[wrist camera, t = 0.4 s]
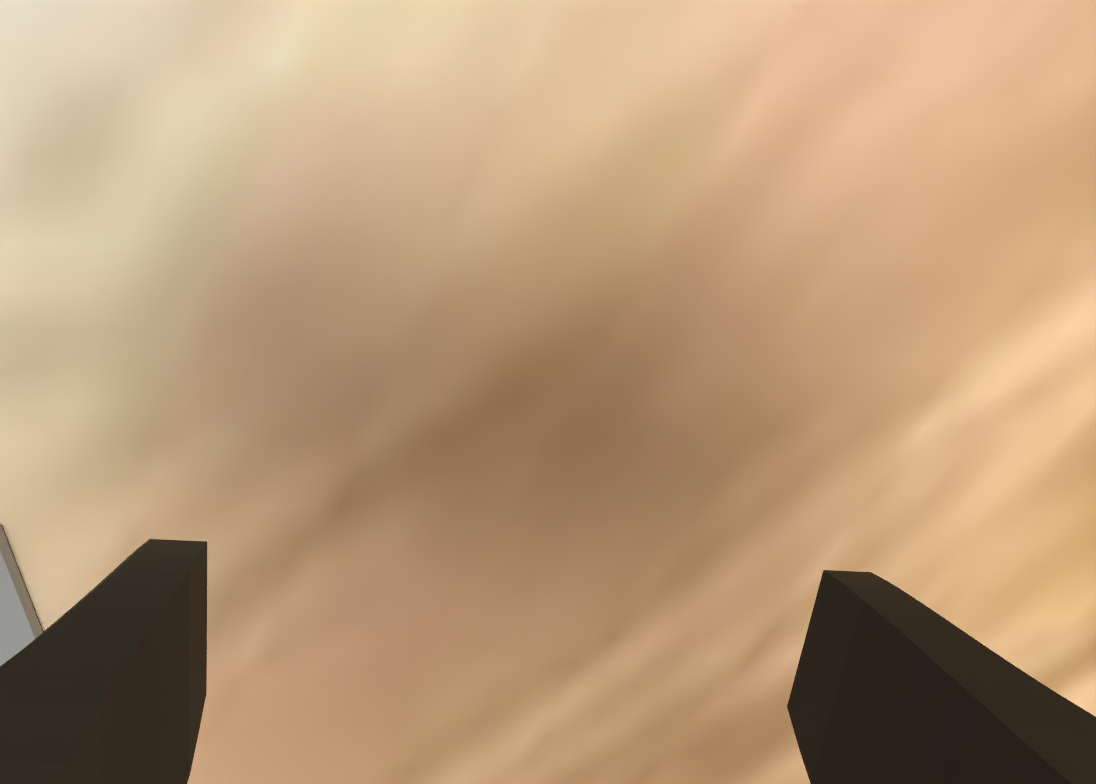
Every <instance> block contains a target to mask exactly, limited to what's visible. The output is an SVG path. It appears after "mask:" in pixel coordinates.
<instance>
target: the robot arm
mask: <svg viewBox="0 0 1096 784" xmlns="http://www.w3.org/2000/svg"><path fill="white" fill-rule="evenodd" d="M206 665H207V542H201V541H179V540H158V539H149V540H148V541H147V542H145V543H144V544H143V545H142V546H140V547H139V548H138V549H137V550H136V551H135V552H134V553H132V554H131V555H130V556H129V557H128V558H127V559H126V560H125V561H123V562H122V563H121V564H120V565H119V566H118V567H117V568H116V569H115V570H114V571H113V572H111V573H110V574H109V575H108V576H107V577H106V578H105V579H104V580H103V581H102V582H100V583H99V584H98V585H97V586H96V587H95V588H94V589H93V590H92V591H90V592H89V593H88V594H87V595H86V596H85V597H84V598H83V599H81V600H80V601H79V602H78V603H77V604H76V605H75V606H73V607H72V608H71V609H70V610H69V611H68V612H66V613H65V614H64V615H63V616H62V617H60V618H59V619H58V620H57V621H56V622H55V623H53V624H52V625H51V626H50V627H49V628H47V629H46V630H45V631H44V632H43V633H42V634H40V635H39V636H38V637H37V638H36V639H34V640H33V641H32V642H31V643H30V644H28V645H27V646H26V647H25V648H23V649H22V650H21V651H20V652H18V653H17V654H16V655H14V656H13V657H12V658H10V659H9V660H8V661H7V662H5V663H4V664H3V665H1V666H0V784H187V782H188V779H189V776H190V771H191V766H192V762H193V757H194V752H195V747H196V743H197V738H198V733H199V728H200V723H201V717H202V712H203V707H204V702H205V697H206ZM787 708H788V711H789V715H790V718H791V722H792V725H793V729H794V732H795V736H796V739H797V742H798V746H799V749H800V752H801V755H802V758H803V762H804V765H805V768H806V771H807V774H808V777H809V780H810V783H811V784H1096V717H1095V716H1093V715H1092V714H1090V713H1088V712H1087V711H1085V710H1084V709H1082V708H1080V707H1079V706H1077V705H1075V704H1074V703H1072V702H1070V701H1069V700H1067V699H1066V698H1064V697H1062V696H1061V695H1059V694H1057V693H1056V692H1054V691H1052V690H1051V689H1049V688H1048V687H1046V686H1045V685H1043V684H1042V683H1040V682H1038V681H1037V680H1035V679H1034V678H1032V677H1031V676H1029V675H1028V674H1026V673H1025V672H1023V671H1022V670H1020V669H1018V668H1017V667H1015V666H1014V665H1012V664H1011V663H1009V662H1008V661H1006V660H1005V659H1003V658H1002V657H1000V656H999V655H997V654H996V653H994V652H993V651H991V650H990V649H989V648H987V647H986V646H984V645H983V644H981V643H980V642H978V641H977V640H975V639H974V638H972V637H971V636H969V635H968V634H966V633H965V632H964V631H962V630H961V629H959V628H958V627H956V626H955V625H953V624H952V623H950V622H949V621H947V620H946V619H944V618H943V617H941V616H940V615H939V614H937V613H936V612H934V611H933V610H931V609H930V608H928V607H927V606H925V605H924V604H922V603H921V602H919V601H918V600H916V599H915V598H913V597H912V596H910V595H909V594H907V593H905V592H904V591H902V590H901V589H899V588H897V587H896V586H894V585H893V584H891V583H889V582H888V581H886V580H884V579H882V578H880V577H879V576H877V575H875V574H873V573H871V572H851V571H830V570H824V571H823V574H822V578H821V582H820V586H819V589H818V593H817V597H816V601H815V604H814V608H813V612H812V616H811V619H810V623H809V627H808V631H807V634H806V638H805V642H804V646H803V649H802V653H801V657H800V660H799V664H798V668H797V672H796V675H795V679H794V683H793V687H792V690H791V694H790V698H789V702H788V705H787Z"/></svg>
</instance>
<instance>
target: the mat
mask: <svg viewBox="0 0 1096 784" xmlns="http://www.w3.org/2000/svg"><path fill="white" fill-rule="evenodd" d="M42 633H43V631H42V628H41V626H40V623H39V621H38V618H37V615H36V613H35V610H34V608H33V605H32V603H31V600H30V598H29V595H28V592H27V590H26V587H25V585H24V582H23V580H22V577H21V574H20V572H19V569H18V567H17V564H16V562H15V559H14V557H13V554H12V551H11V549H10V546H9V544H8V541H7V539H6V536H5V534H4V531H3V528H2V526H0V666H1V665H3V664H4V663H5V662H7V661H8V660H9V659H10V658H12V657H13V656H14V655H16V654H17V653H18V652H20V651H21V650H22V649H23V648H25V647H26V646H27V645H28V644H30V643H31V642H32V641H33V640H34V639H36V638H37V637H38V636H39V635H40V634H42Z"/></svg>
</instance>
